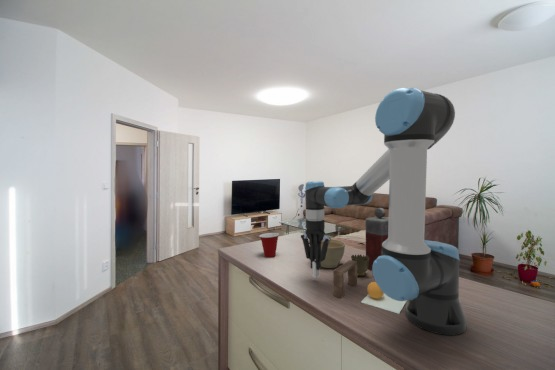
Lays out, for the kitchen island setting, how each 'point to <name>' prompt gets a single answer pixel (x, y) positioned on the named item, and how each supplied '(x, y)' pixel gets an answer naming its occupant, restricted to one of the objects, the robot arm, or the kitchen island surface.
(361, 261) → the green lump
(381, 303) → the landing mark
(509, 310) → the kitchen island surface
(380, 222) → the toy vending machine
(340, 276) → the bridge
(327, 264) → the planter bowl
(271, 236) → the plastic cup
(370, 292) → the ball
